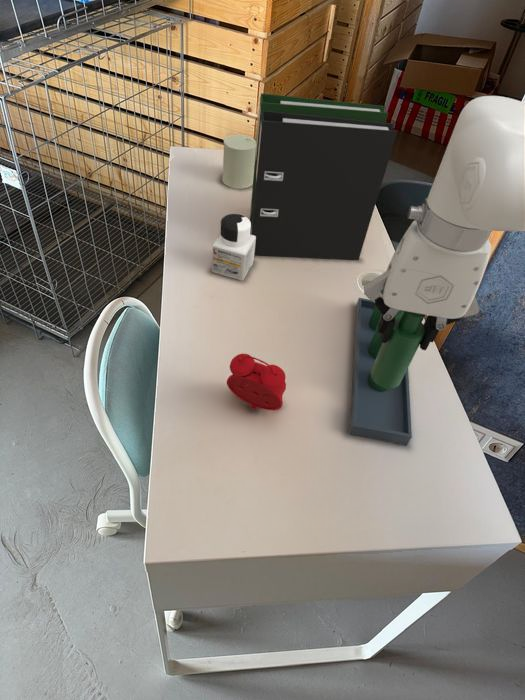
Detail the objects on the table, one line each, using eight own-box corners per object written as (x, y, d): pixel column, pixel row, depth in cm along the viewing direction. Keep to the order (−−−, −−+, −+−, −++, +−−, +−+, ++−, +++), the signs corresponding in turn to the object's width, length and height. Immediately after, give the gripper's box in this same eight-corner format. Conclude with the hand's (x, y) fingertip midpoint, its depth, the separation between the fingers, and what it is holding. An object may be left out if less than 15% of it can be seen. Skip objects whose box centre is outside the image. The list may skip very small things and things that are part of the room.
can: (259, 184, 140) (263, 143, 131) (233, 191, 136) (236, 150, 127) (241, 170, 145) (244, 130, 136) (215, 177, 141) (217, 136, 132)
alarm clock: (287, 404, 88) (299, 349, 77) (274, 430, 84) (285, 376, 73) (236, 383, 90) (241, 327, 79) (221, 407, 86) (224, 352, 75)
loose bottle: (401, 391, 70) (435, 325, 60) (370, 385, 70) (398, 319, 60) (400, 367, 73) (432, 301, 63) (370, 362, 73) (397, 295, 63)
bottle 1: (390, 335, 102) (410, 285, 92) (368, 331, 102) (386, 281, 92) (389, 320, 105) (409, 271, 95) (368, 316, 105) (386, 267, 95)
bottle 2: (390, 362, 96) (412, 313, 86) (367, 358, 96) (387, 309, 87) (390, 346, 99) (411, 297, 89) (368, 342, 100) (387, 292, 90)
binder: (350, 229, 129) (384, 104, 105) (359, 264, 119) (398, 134, 95) (249, 222, 126) (260, 93, 103) (249, 257, 116) (262, 122, 93)
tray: (406, 445, 84) (412, 437, 82) (349, 434, 85) (353, 425, 83) (400, 315, 107) (404, 305, 105) (355, 306, 108) (358, 297, 106)
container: (211, 272, 111) (212, 224, 102) (223, 254, 116) (225, 206, 107) (242, 281, 110) (247, 233, 100) (253, 262, 115) (258, 215, 106)
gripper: (378, 230, 50) (340, 348, 63) (541, 258, 49) (468, 371, 63) (377, 193, 55) (342, 310, 68) (525, 218, 54) (461, 331, 68)
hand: (403, 338), depth 65 cm, fingers closed on loose bottle, 4 cm apart
